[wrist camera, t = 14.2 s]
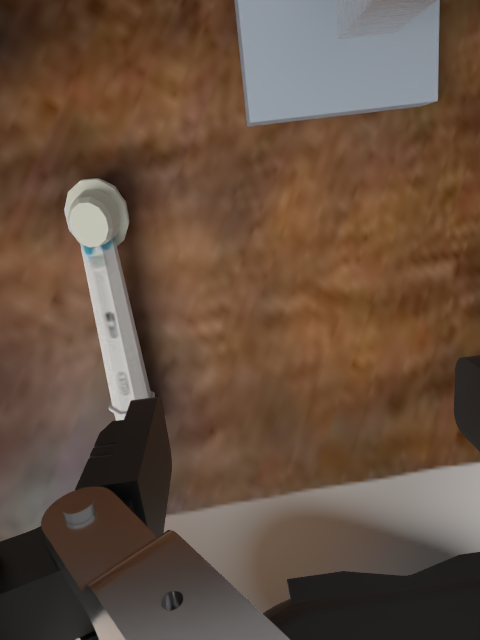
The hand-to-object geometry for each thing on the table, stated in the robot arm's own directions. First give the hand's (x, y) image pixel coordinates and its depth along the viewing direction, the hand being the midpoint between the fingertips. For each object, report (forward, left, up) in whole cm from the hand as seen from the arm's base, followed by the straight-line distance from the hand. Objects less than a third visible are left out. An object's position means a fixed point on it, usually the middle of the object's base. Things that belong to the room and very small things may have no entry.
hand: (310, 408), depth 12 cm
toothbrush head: (-4, -13, -34) cm, 36 cm away
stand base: (-6, +18, -33) cm, 38 cm away
